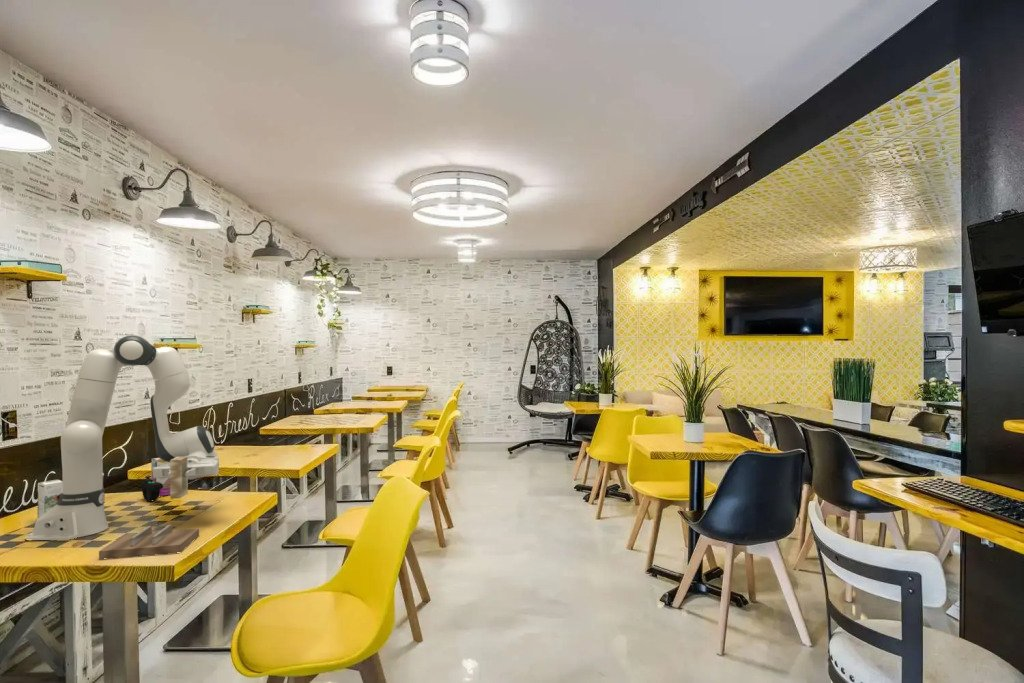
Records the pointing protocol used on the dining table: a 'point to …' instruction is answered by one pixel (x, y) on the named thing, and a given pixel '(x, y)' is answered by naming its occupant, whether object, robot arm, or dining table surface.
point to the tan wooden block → (178, 477)
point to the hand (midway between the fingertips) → (178, 474)
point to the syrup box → (48, 495)
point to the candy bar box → (164, 481)
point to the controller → (151, 489)
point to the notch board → (150, 543)
